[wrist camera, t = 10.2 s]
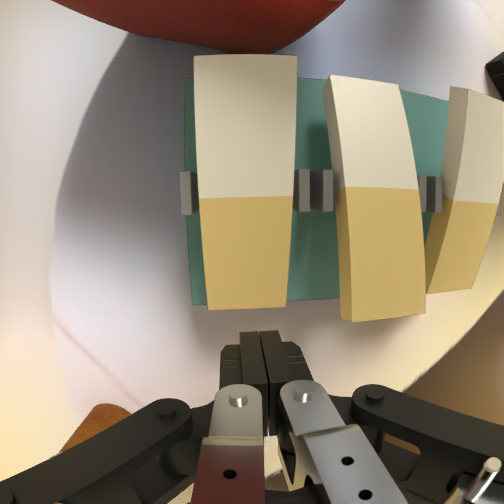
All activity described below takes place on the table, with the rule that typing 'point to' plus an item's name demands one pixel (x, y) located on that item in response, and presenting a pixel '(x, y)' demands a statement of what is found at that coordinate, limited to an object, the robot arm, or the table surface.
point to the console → (318, 189)
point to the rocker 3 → (466, 191)
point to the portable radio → (497, 72)
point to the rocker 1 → (245, 175)
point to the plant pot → (213, 20)
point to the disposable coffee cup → (96, 423)
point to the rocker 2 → (375, 201)
